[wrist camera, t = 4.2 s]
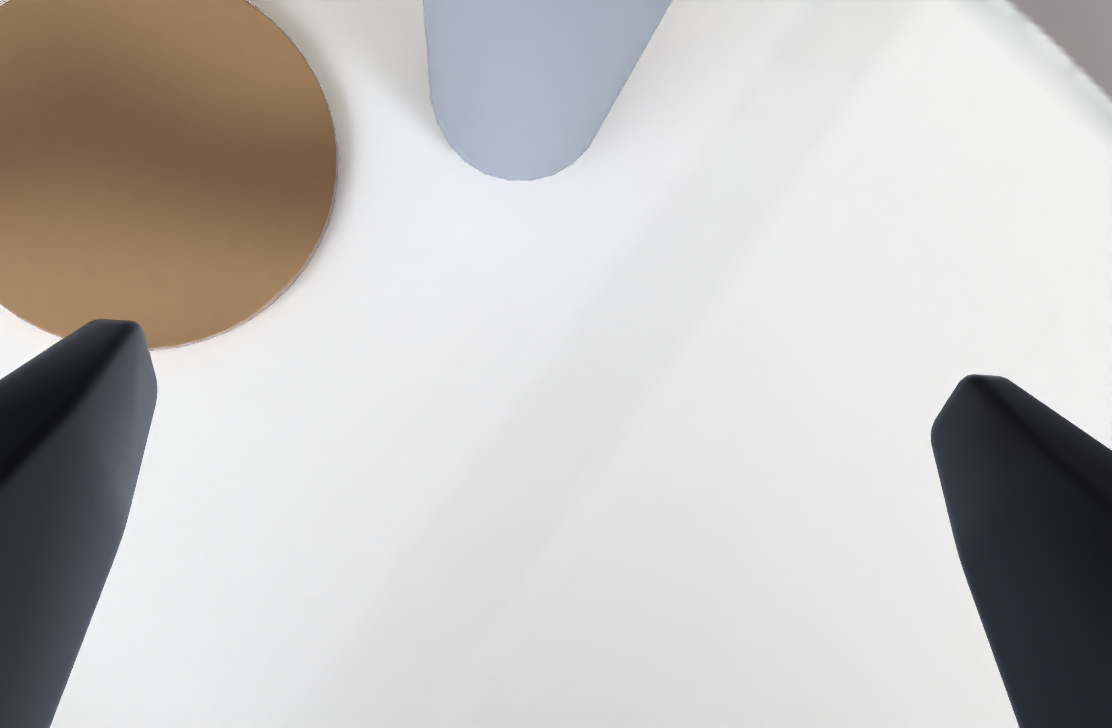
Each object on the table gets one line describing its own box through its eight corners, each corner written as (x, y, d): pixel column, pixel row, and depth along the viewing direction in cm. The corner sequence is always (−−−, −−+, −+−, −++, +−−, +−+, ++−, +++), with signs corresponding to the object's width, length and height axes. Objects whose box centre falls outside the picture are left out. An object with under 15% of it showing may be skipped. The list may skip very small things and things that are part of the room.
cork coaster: (371, 310, 22) (370, 309, 22) (-26, 386, 21) (-35, 385, 20) (298, -51, 22) (295, -59, 22) (-102, 0, 21) (-112, -8, 20)
